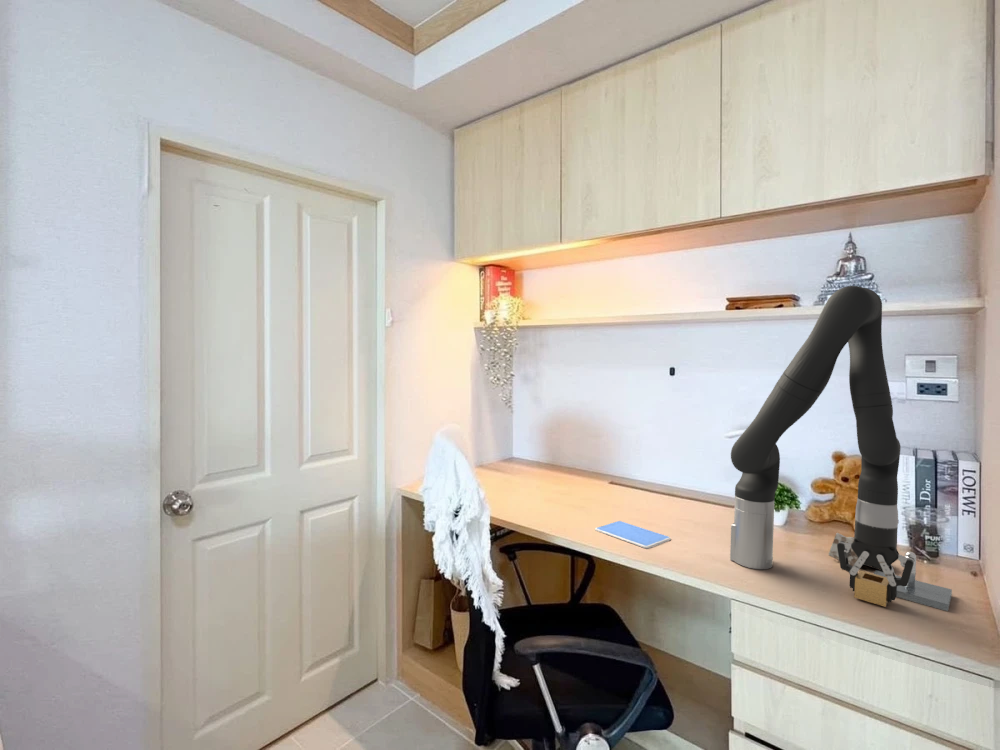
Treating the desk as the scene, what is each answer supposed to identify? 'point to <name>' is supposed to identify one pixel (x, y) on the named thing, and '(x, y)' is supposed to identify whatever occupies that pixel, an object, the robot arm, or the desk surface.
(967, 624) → the desk surface
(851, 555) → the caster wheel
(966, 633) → the desk surface
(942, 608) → the post block
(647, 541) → the tablet computer
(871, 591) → the tan slotted block
